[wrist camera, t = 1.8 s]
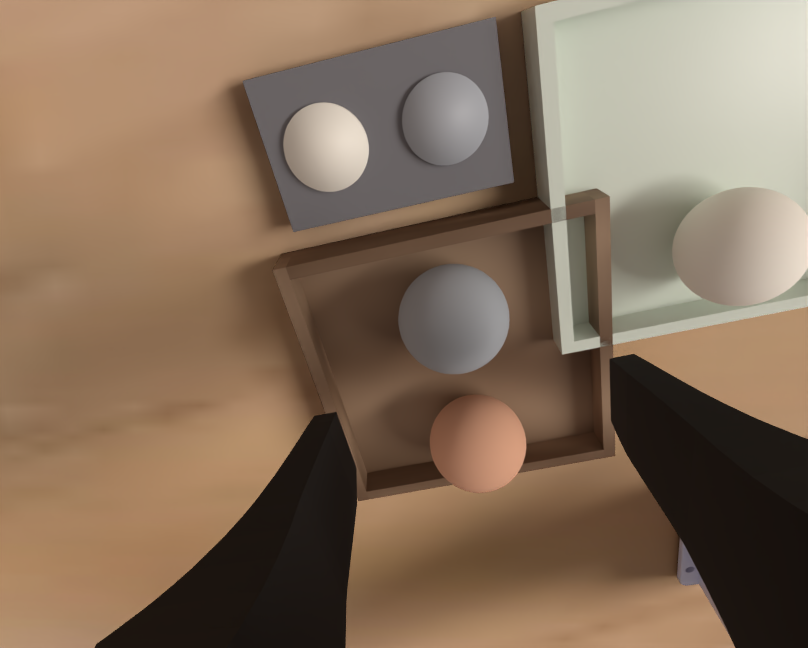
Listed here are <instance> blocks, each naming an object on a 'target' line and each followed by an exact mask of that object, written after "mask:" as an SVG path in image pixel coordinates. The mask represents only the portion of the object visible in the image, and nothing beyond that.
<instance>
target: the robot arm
mask: <svg viewBox="0 0 808 648" xmlns="http://www.w3.org/2000/svg"><path fill="white" fill-rule="evenodd" d="M609 364H610V406H611V422H612V424H613V426H614V429H615V431H616V433H617V435H618V437H619V440H620V442H621V444H622V446H623V448H624V450H625V452H626V454H627V456H628V457H629V459H630V460H631V462H632V464H633V465H634V467H635V468H636V470H637V471H638V473H639V475H640V476H641V478H642V479H643V481H644V482H645V484H646V485H647V487H648V489H649V490H650V492H651V493H652V495H653V496H654V498H655V499H656V501H657V502H658V504H659V506H660V507H661V509H662V510H663V512H664V513H665V515H666V516H667V518H668V519H669V521H670V522H671V524H672V526H673V527H674V529H675V530H676V532H677V534H678V535H679V537H680V543H679V557H678V571H677V578H678V580H679V582H680V583H681V584H682V585H694V584H699V585H700V586H701V588H702V590H703V591H704V593H705V595H706V597H707V598H708V600H709V602H710V603H711V605H712V607H713V608H714V610H715V612H716V614H717V615H718V617H719V619H720V620H721V622H722V624H723V625H724V627H725V629H726V630H727V632H728V634H729V636H730V637H731V639H732V641H733V644H734V646H735V648H808V439H806V438H803V437H800V436H798V435H795V434H793V433H790V432H788V431H785V430H783V429H780V428H778V427H775V426H773V425H770V424H768V423H765V422H763V421H761V420H758V419H756V418H754V417H752V416H749V415H747V414H745V413H743V412H741V411H739V410H737V409H735V408H733V407H730V406H728V405H726V404H724V403H722V402H720V401H718V400H716V399H714V398H712V397H710V396H708V395H707V394H705V393H703V392H701V391H699V390H697V389H695V388H693V387H692V386H690V385H688V384H686V383H684V382H683V381H681V380H679V379H677V378H675V377H674V376H672V375H670V374H668V373H667V372H665V371H663V370H661V369H660V368H658V367H656V366H654V365H653V364H651V363H649V362H647V361H646V360H644V359H642V358H640V357H638V356H637V355H635V354H631V355H626V356H621V357H616V358H611V359H609ZM356 507H357V468H356V465H355V462H354V459H353V456H352V454H351V451H350V448H349V445H348V443H347V440H346V437H345V434H344V431H343V429H342V426H341V423H340V420H339V418H338V415H337V412H332V413H327V414H322V415H317V416H314V417H313V419H312V420H311V422H310V423H309V425H308V426H307V428H306V429H305V431H304V432H303V434H302V435H301V437H300V439H299V440H298V442H297V443H296V445H295V446H294V448H293V449H292V451H291V452H290V454H289V455H288V457H287V458H286V460H285V461H284V463H283V464H282V466H281V467H280V468H279V470H278V471H277V473H276V474H275V476H274V477H273V478H272V480H271V481H270V482H269V484H268V485H267V486H266V488H265V489H264V490H263V492H262V493H261V494H260V496H259V497H258V498H257V500H256V501H255V502H254V503H253V505H252V506H251V507H250V508H249V509H248V511H247V512H246V513H245V514H244V515H243V517H242V518H241V519H240V520H239V521H238V522H237V523H236V524H235V525H234V527H233V528H232V529H231V530H230V531H229V532H228V533H227V534H226V535H225V536H224V537H223V538H222V540H220V541H219V542H218V543H217V544H216V545H215V546H214V547H213V548H212V549H211V550H210V551H209V552H208V553H207V554H206V555H205V556H204V557H203V558H202V559H201V560H200V561H199V562H198V563H197V564H196V565H195V566H194V567H193V568H192V569H191V570H190V571H188V572H187V573H186V574H185V575H184V576H183V577H182V578H181V579H179V580H178V581H177V582H176V583H175V584H174V585H173V586H171V587H170V588H169V589H168V590H167V591H165V592H164V593H163V594H162V595H161V596H159V597H158V598H157V599H156V600H155V601H153V602H152V603H151V604H150V605H148V606H147V607H146V608H145V609H143V610H142V611H141V612H139V613H138V614H137V615H135V616H134V617H133V618H131V619H130V620H129V621H127V622H126V623H125V624H123V625H122V626H121V627H119V628H118V629H117V630H115V631H114V632H113V633H111V634H110V635H109V636H107V637H106V638H104V639H103V640H102V641H100V642H99V643H97V644H96V646H95V648H345V642H346V599H347V586H348V577H349V568H350V560H351V551H352V543H353V534H354V525H355V516H356Z"/></svg>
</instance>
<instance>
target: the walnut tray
mask: <svg viewBox="0 0 808 648" xmlns="http://www.w3.org/2000/svg"><path fill="white" fill-rule="evenodd" d="M565 207H566V208H565ZM565 207H564V209H566V211H565V212H566V213H565V212H564V211H563V209H562V210H561V209H560V208H561V207H560V208H558V209H557V208H554V209H555V210H556V209H557V210H558V211H559V209H560V210H561V211H563V212H564V213H565V215H566V220H569V219H573V218H578V217H583V216H584V228H585V250H586V272H587V293H588V315H589V323H590V324H591V326H592V327H593V328H594V330H595V331H596V332H597V334H598V335H599V336H600V339H601V340H600V341H601V342H602V343H603V344H601V342H600V347H598V348H593V349H588V350H583V351H578V352H573V353H568V354H563V355H562V353H561V352H560V350H559V348H558V346H557V345H556V343H555V341H554V340H553V329H552V317H551V306H550V294H549V283H548V271H547V260H546V248H545V237H544V225H546V224H550V223H552V221H553V218H554V217H555V215H557V216H558V213H557V214H555V215H554V213H555V212H556V211H557V210H556V211H555V210H554V211H555V212H554V211H553V210H552V209H550V208H549V207H548V206H547V205H546V204H545V203H544V202H542V201H541V200H540V199H539V198H538V197H536V198H532V199H527V200H523V201H518V202H514V203H509V204H505V205H500V206H496V207H491V208H487V209H482V210H478V211H473V212H469V213H464V214H460V215H455V216H451V217H446V218H442V219H437V220H433V221H428V222H424V223H419V224H415V225H410V226H406V227H401V228H397V229H392V230H388V231H383V232H379V233H374V234H370V235H365V236H361V237H356V238H352V239H347V240H343V241H338V242H334V243H329V244H325V245H320V246H316V247H311V248H306V249H302V250H297V251H293V252H288V253H284V254H281V256H280V258H279V259H278V261H277V263H276V265H275V267H274V268H273V270H272V271H273V274H274V276H275V279H276V282H277V284H278V287H279V290H280V292H281V295H282V298H283V300H284V303H285V306H286V308H287V311H288V314H289V316H290V319H291V322H292V324H293V327H294V330H295V332H296V335H297V338H298V340H299V343H300V346H301V348H302V351H303V354H304V357H305V359H306V362H307V365H308V367H309V370H310V373H311V375H312V378H313V381H314V383H315V386H316V389H317V391H318V394H319V397H320V399H321V402H322V405H323V407H324V410H325V413H326V414H327V413H332V412H337V415H338V418H339V420H340V423H341V426H342V429H343V431H344V434H345V437H346V440H347V443H348V445H349V448H350V451H351V454H352V456H353V459H354V462H355V465H356V468H357V498H358V501H362V500H368V499H374V498H379V497H385V496H391V495H396V494H402V493H408V492H413V491H419V490H425V489H430V488H436V487H442V486H447V485H453V484H451V483H450V482H449V481H447V480H446V479H445V478H444V477H443V476H442V474H441V473H440V472H439V470H438V469H437V467H436V465H435V463H434V461H433V458H432V455H431V450H430V434H431V429H432V426H433V423H434V421H435V419H436V417H437V415H438V414H439V413H440V411H441V410H442V409H443V408H444V407H445V406H446V405H447V404H449V403H450V402H452V401H453V400H455V399H457V398H460V397H462V396H466V395H473V394H479V395H486V396H490V397H493V398H496V399H498V400H500V401H501V402H503V403H505V404H506V405H507V406H508V407H509V408H511V409H512V410H513V412H514V413H515V414H516V415H517V417H518V418H519V420H520V422H521V424H522V426H523V429H524V432H525V437H526V454H525V458H524V461H523V464H522V466H521V468H520V470H519V472H518V473H521V472H526V471H532V470H538V469H543V468H549V467H555V466H560V465H566V464H572V463H577V462H583V461H589V460H594V459H600V458H606V457H611V456H615V429H614V426H613V424H612V422H611V406H610V364H609V359H611V358H613V328H612V279H611V230H610V196H609V195H607V194H605V193H604V192H602V191H600V190H599V189H597V188H596V189H591V190H587V191H582V192H578V193H573V194H569V195H565ZM562 208H563V207H562ZM551 210H552V211H553V212H554V213H553V212H552V214H553V215H552V214H551ZM558 211H557V212H558ZM564 213H563V214H564ZM551 215H552V216H554V217H551ZM561 215H562V214H561ZM561 215H560V212H559V217H560V216H561ZM562 217H563V216H562ZM562 217H560V218H562ZM560 218H559V219H560ZM557 219H558V217H557ZM554 220H556V219H554ZM562 220H565V218H564V219H560V221H562ZM580 221H581V220H580ZM553 222H554V221H553ZM556 222H559V221H556ZM554 223H555V222H554ZM571 243H572V242H571ZM445 264H463V265H467V266H471V267H474V268H477V269H479V270H481V271H482V272H484V273H485V274H487V275H488V276H489V277H491V278H492V279H493V280H494V281H495V282H496V284H497V285H498V286H499V287H500V289H501V290H502V292H503V294H504V296H505V299H506V301H507V304H508V309H509V329H508V333H507V337H506V340H505V342H504V344H503V346H502V348H501V349H500V351H499V352H498V353H497V355H496V356H495V357H494V358H493V359H492V360H491V361H489V362H488V363H487V364H485V365H484V366H482V367H481V368H479V369H477V370H474V371H471V372H468V373H464V374H444V373H439V372H436V371H433V370H431V369H429V368H427V367H425V366H424V365H422V364H421V363H419V362H418V361H417V360H416V359H415V358H414V357H413V356H412V355H411V354H410V352H409V351H408V350H407V348H406V346H405V344H404V342H403V340H402V337H401V334H400V330H399V324H398V316H399V308H400V304H401V301H402V298H403V296H404V294H405V292H406V290H407V289H408V287H409V286H410V285H411V283H412V282H413V281H414V280H415V279H416V278H417V277H418V276H420V275H421V274H423V273H424V272H426V271H427V270H429V269H431V268H434V267H437V266H440V265H445ZM607 340H608V341H609V342H608V341H607ZM607 342H608V343H607ZM605 344H606V346H605ZM611 344H612V345H611ZM602 345H604V346H603V347H602Z"/></svg>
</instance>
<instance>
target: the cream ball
mask: <svg viewBox="0 0 808 648" xmlns="http://www.w3.org/2000/svg"><path fill="white" fill-rule="evenodd" d="M672 258H673V264H674V267H675V269H676V272H677V274H678V276H679V277H680V279H681V281H682V282H683V283H684V284H685V285H686V286H687V287H688V288H689V289H690V290H691V291H692V292H693V293H695V294H696V295H698V296H700V297H701V298H703V299H706V300H708V301H711V302H713V303H717V304H721V305H728V306H747V305H753V304H758V303H762V302H765V301H768V300H770V299H772V298H775V297H777V296H779V295H780V294H782V293H784V292H785V291H787V290H788V289H790V288H791V287H792V286H793V285H794V284H795V283H796V282H797V281H798V280H799V279H800V278H801V277H802V276H803V274H804V273H805V271H806V270H807V268H808V216H807V214H806V213H805V211H804V210H803V209H802V208H801V207H800V206H799V205H798V204H797V203H796V202H795V201H793V200H792V199H790V198H789V197H787V196H785V195H783V194H781V193H779V192H776V191H773V190H769V189H765V188H758V187H741V188H734V189H729V190H725V191H722V192H720V193H717V194H715V195H712V196H710V197H708V198H706V199H705V200H703V201H702V202H700V203H699V204H698V205H696V206H695V207H694V208H693V209H692V210H691V211H690V212H689V213H688V214H687V215H686V216H685V218H684V219H683V220H682V222H681V223H680V225H679V227H678V229H677V231H676V234H675V236H674V240H673V246H672Z"/></svg>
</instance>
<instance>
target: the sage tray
mask: <svg viewBox="0 0 808 648" xmlns="http://www.w3.org/2000/svg"><path fill="white" fill-rule="evenodd" d="M521 17H522V28H523V39H524V50H525V61H526V72H527V83H528V95H529V106H530V117H531V128H532V139H533V150H534V161H535V172H536V183H537V194H538V198H539V199H540V200H541V201H542V202H544V203H545V204H546V205H547V206H548V207H549V208H550V209H552V210H553V211H554V210H555V209H554V208H557V209H558V208H560V207H561V208H560V209H561V210H562V209H563V211H564V212H565V211H566V209H564V207H565V195H569V194H573V193H578V192H582V191H587V190H591V189H596V188H597V189H599V190H600V191H602V192H604V193H605V194H607V195H609V196H610V230H611V279H612V328H613V345H614V344H619V343H624V342H629V341H634V340H639V339H645V338H650V337H655V336H660V335H665V334H670V333H675V332H681V331H686V330H691V329H696V328H701V327H706V326H711V325H716V324H722V323H727V322H732V321H737V320H742V319H747V318H752V317H757V316H763V315H768V314H773V313H778V312H783V311H788V310H793V309H798V308H804V307H808V268H807V270H806V271H805V273H804V274H803V276H802V277H801V278H800V279H799V280H798V281H797V282H796V283H795V284H794V285H793V286H792V287H791V288H790V289H788V290H787V291H785V292H784V293H782V294H780V295H779V296H777V297H775V298H772V299H770V300H768V301H765V302H762V303H758V304H753V305H747V306H728V305H721V304H717V303H713V302H711V301H708V300H706V299H703V298H701V297H700V296H698V295H696V294H695V293H693V292H692V291H691V290H690V289H689V288H688V287H687V286H686V285H685V284H684V283H683V282H682V281H681V279H680V277H679V276H678V274H677V272H676V269H675V267H674V264H673V258H672V246H673V240H674V236H675V234H676V231H677V229H678V227H679V225H680V223H681V222H682V220H683V219H684V218H685V216H686V215H687V214H688V213H689V212H690V211H691V210H692V209H693V208H694V207H695V206H696V205H698V204H699V203H700V202H702V201H703V200H705V199H706V198H708V197H710V196H712V195H715V194H717V193H720V192H722V191H725V190H729V189H734V188H741V187H758V188H765V189H769V190H773V191H776V192H779V193H781V194H783V195H785V196H787V197H789V198H790V199H792V200H793V201H795V202H796V203H797V204H798V205H799V206H800V207H801V208H802V209H803V210H804V211H805V213H806V214H807V216H808V0H557V1H553V2H549V3H545V4H541V5H537V6H534V7H531V8H529V9H526V10H523V11H521ZM562 207H563V208H562ZM565 208H566V207H565ZM557 209H556V210H557ZM560 209H559V211H558V210H557V211H558V212H557V211H556V210H555V211H556V212H555V211H554V212H555V213H554V212H553V211H552V210H551V214H552V212H553V213H554V215H555V214H557V213H558V216H557V215H555V217H554V216H552V215H553V214H552V215H551V217H554V218H553V221H554V222H555V223H554V222H553V221H552V223H550V224H546V225H544V237H545V248H546V260H547V271H548V283H549V294H550V306H551V317H552V329H553V340H554V341H555V343H556V345H557V346H558V348H559V350H560V352H561V353H562V355H563V354H568V353H573V352H578V351H583V350H588V349H593V348H598V347H600V342H601V341H600V340H601V339H600V336H599V335H598V334H597V332H596V331H595V330H594V328H593V327H592V326H591V324H590V323H589V315H588V293H587V272H586V250H585V228H584V216H583V217H578V218H573V219H569V220H566V215H565V213H566V212H565V213H564V212H563V211H561V210H560ZM559 212H560V215H561V214H562V215H561V216H560V217H562V216H563V217H562V218H560V217H559ZM563 213H564V214H563ZM557 217H558V219H557ZM559 218H560V219H564V218H565V220H562V221H560V219H559ZM554 219H556V220H554ZM580 220H581V221H580ZM556 221H559V222H556ZM571 242H572V243H571ZM607 341H608V340H607ZM608 342H609V341H608ZM608 342H607V343H608ZM601 344H603V343H602V342H601ZM611 345H612V344H611ZM603 346H604V345H602V347H603ZM605 346H606V344H605Z"/></svg>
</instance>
